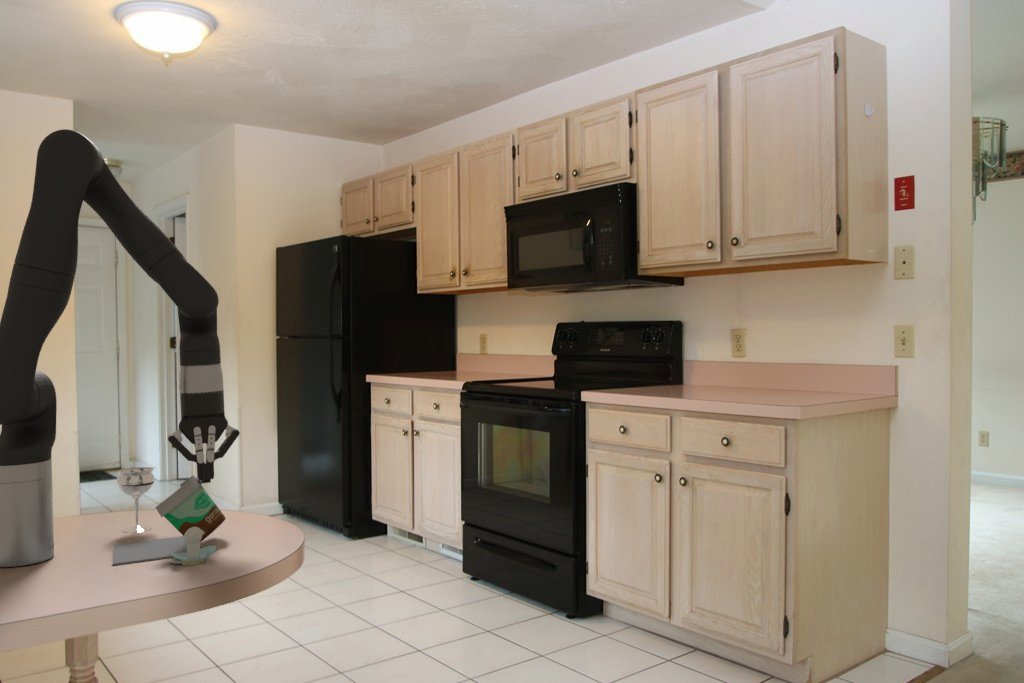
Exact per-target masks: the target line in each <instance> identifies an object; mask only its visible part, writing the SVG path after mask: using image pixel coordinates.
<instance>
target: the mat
mask: <svg viewBox="0 0 1024 683" xmlns="http://www.w3.org/2000/svg"><path fill="white" fill-rule="evenodd" d="M183 552H187V544H186V543H185V542H184V536H183V535H182V536H181V535H180V536H173V537H171V536H170V537H166V538H156V539H148V540H140V541H133V542H132V541H131V542H125V543H124V542H123V543H118V544H117V543H116V544H113V550H112V566H119V565H128V564H134V563H143V562H150V561H155V560H164V559H173V557H172V556H171V555H170V553H183Z"/></svg>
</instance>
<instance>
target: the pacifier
mask: <svg viewBox="0 0 1024 683" xmlns="http://www.w3.org/2000/svg"><path fill="white" fill-rule="evenodd" d="M201 539H202V531H201V529H200V528H198V527H192V528H190V529H188V530H187V531H186V532H185V534H184V542H185V543H186V544H187V552H183V553H170V555H171V556H172V558H170V560H169V562H170V564H171V563H172V564H174V565H175V564H177V565H178V564H179V565H181V566H189V565H190V566H191V565H195V564H196V565H197V564H200V563H202V562H205V560H206V559H208V558H209V557H211V556H212V555H213V554H214V553H215V552H216V551H217V546H216V545H215V544H214V545H207V546H205V547H202V548H201V542H200V540H201Z"/></svg>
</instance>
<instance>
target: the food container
mask: <svg viewBox="0 0 1024 683" xmlns="http://www.w3.org/2000/svg"><path fill="white" fill-rule="evenodd" d="M202 484H203V483H202V481H201V480H200V481H199V479H198V477H197V476H195V475H194V474H192V475H191V476H190V477H188V478H187V479H185V480H184V481H183V482H182V483H180V484H179V486H180V487H179V488H178V489H177V490H175V491H174V492H173V493H172V494H171V495H169V496H167V498H165V499H164V500H163V501H162V502H160V503H159V504H158V505H157V506H155V509H156V510H157V513H158V514H159V516H160V517H161V518H165V519H166V520H167V521H168V522H169V523H170V524H171V525H172V526H173V527H174V528H175V529H176V530H177V531H178V532H179V533H180V534H181V535H182V536H184V534H185V532H186V531H187V530H188V529H190V528H192V527H198V528H200V529H201V531H202V539H201V540H200V543H202V542H203V541H204V540H205V539H206V538H208V537H209V536H210V535H211V534H212V533H214V532H215V531H216V530H217V529H218V528H219V527H220V526H221V525H222V523H223V522H225V520H226V519H227V518H226V516H225V515H224V513H223V512H222V511H221V510H220V508H219V507H218V506H217V504H216V503H215V502H214V500H213V499H212V498H211V496H210V495H209V493H208V492H207V491H206V489H205V488H204V486H203V485H202Z"/></svg>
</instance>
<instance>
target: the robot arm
mask: <svg viewBox="0 0 1024 683" xmlns="http://www.w3.org/2000/svg"><path fill="white" fill-rule="evenodd" d="M35 162H36V163H35V173H34V174H35V175H34V181H33V189H32V190H33V191H32V198H31V203H30V207H29V211H28V214H27V216H26V221H25V223H24V226H23V231H22V233H21V236H20V240H19V244H18V248H17V252H16V255H15V258H14V261H13V262H14V263H13V266H12V270H11V273H10V274H11V275H10V279H9V283H8V284H9V285H8V288H7V289H8V290H7V294H6V299H5V302H4V307H3V309H2V310H3V311H2V314H1V317H0V318H1V319H0V426H1V430H0V568H8V567H9V568H10V567H12V568H13V567H21V566H27V565H28V566H29V565H33V564H37V563H41V562H44V561H47V560H50V559H51V558H53V557H54V556H55V541H54V540H55V538H54V537H55V536H54V505H53V504H54V502H53V501H54V498H53V468H52V467H53V466H52V464H53V460H52V449H53V447H54V444H55V441H56V437H57V408H58V407H57V405H58V404H57V403H58V402H57V394H56V389H55V385H54V383H53V380H52V379H51V378H50V377H49V376H48V375H47V374H46V373H44V372H42V371H41V370H38V369H37V367H38V362H39V357H40V353H41V351H42V348H43V346H44V344H45V342H46V340H47V338H48V336H49V335H50V333H51V332H52V330H53V328H54V327H55V326H56V324H57V322H58V321H59V320H60V318H61V316H62V315H63V313H64V311H65V310H66V308H67V305H68V303H69V301H70V298H71V296H72V295H71V294H72V290H73V286H74V281H75V278H76V277H75V276H76V273H77V267H78V259H79V258H78V256H79V255H78V254H79V252H78V251H79V219H80V213H81V209H82V205H83V204H84V203H86V204H87V205H88V206H89V207H90V208H92V210H93V211H94V212H95V213H96V214H97V215H98V216H99V217H100V218H101V220H102V221H103V222H104V223H105V225H107V227H108V229H110V231H111V232H112V234H113V235H114V237H115V238H116V239H117V241H118V242H119V244H120V245H121V246H122V247H123V248H124V249H125V251H126V252H127V253H128V255H129V256H130V257H131V258H132V260H134V262H136V264H137V265H138V266H139V267H140V268H141V269H142V271H143V272H144V273H145V274H146V275H147V276H148V277H149V278H150V279H151V280H152V281H154V282H155V283H156V284H158V285H159V286H160V287H161V289H162V290H163V291H164V292H165V294H166V295H167V296H168V297H169V299H170V300H171V301H172V302H173V303H174V305H175V306H176V308H177V316H178V317H177V318H178V324H179V326H178V327H179V335H180V338H179V369H180V370H179V377H178V378H179V386H178V389H179V398H180V421H179V424H178V428H177V429H176V430H175V431H174V432H172V433H170V434H168V436H167V440H168V442H169V443H170V444H171V445H172V446H173V447H174V448H175V449H176V450H177V451H178V452H179V453H180V455H182V456H183V457H184V458H185V459H186V460H187V461H188V462H194V463H196V474H197V475H196V477H198V479H199V481H200V480H201V481H202V484H209V483H212V482H211V480H214V478H215V465H214V464H215V461H217V460H219V459H223V457H225V455H226V454H227V452H228V451H229V449H230V448H231V447H232V445H233V444H234V442H235V441H236V440H237V438H238V437H239V436H240V433H241V432H240V431H239V429H237V428H234V427H233V426H232V425H230V424H229V422H228V419H227V418H226V415H225V414H226V413H225V395H224V376H223V369H222V365H221V363H222V361H221V360H222V359H221V344H220V338H219V336H218V306H219V302H220V300H219V295H218V292H217V291H216V289H215V288H214V287H213V285H212V284H211V283H210V282H209V281H208V280H207V279H206V278H205V277H204V276H203V275H202V274H201V273H200V272H199V271H198V270H197V269H196V268H195V267H194V266H193V265H192V264H191V263H190V262H188V260H187V259H186V258H185V256H184V255H183V253H182V252H181V251H180V250H179V249H178V247H177V246H176V245H175V244H174V243H173V242H172V241H171V239H170V238H169V237H168V236H167V235H166V234H165V233H164V231H162V229H160V227H159V226H158V225H157V224H156V223H155V222H154V221H153V220H152V219H151V218H150V217H149V216H148V215H147V214H146V213H145V212H144V211H143V210H142V209H141V208H140V207H139V206H138V204H137V203H135V201H134V200H133V199H132V198H131V197H130V196H129V195H128V193H127V192H126V191H125V190H124V188H123V187H122V185H121V184H120V182H119V181H118V180H117V179H116V177H115V175H114V174H113V173H112V170H111V169H110V167H109V166H108V164H107V162H106V161H105V159H104V158H103V155H102V153H101V151H100V150H99V148H98V147H97V145H96V144H95V143H94V142H92V141H91V139H90V138H88V137H87V136H85V135H84V134H83V133H80V132H78V131H76V130H73V129H68V128H67V129H58V130H55V131H52V132H51V133H49V134H48V135H46V136H45V137H44V138H43V140H42V141H41V143H40V144H39V147H38V149H37V154H36V161H35ZM224 433H225V434H224ZM182 434H183V436H184V437H185V438H186V439H187V440H188V441H189V443H191V444H192V445H193V446H194V450H195V451H194V452H195V453H192V452H191V451H190V450H189V449H188V448H187V447H186V446H185V445H184V444H183V443H182V441H183V440H184V439H183V437H182ZM223 434H224V436H225V437H226V438H225V439H224V440H223V442H222V443H221V444H220V446H219V447H218V449H217V450H216V451H215V448H216V442H218V441H219V440H220V438H221V436H222V435H223ZM204 444H205V454H204V446H203V445H204Z"/></svg>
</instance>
